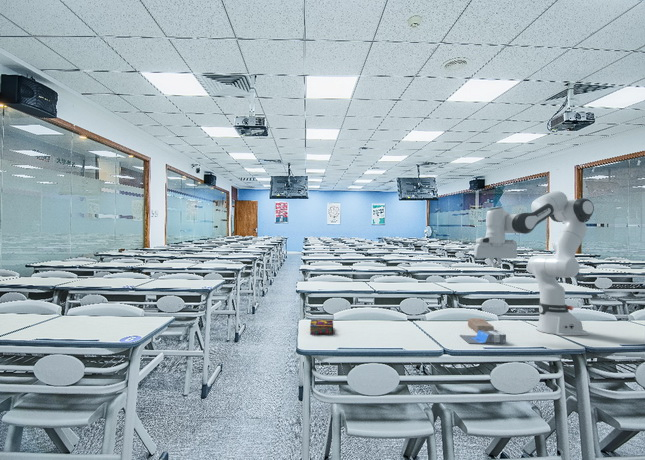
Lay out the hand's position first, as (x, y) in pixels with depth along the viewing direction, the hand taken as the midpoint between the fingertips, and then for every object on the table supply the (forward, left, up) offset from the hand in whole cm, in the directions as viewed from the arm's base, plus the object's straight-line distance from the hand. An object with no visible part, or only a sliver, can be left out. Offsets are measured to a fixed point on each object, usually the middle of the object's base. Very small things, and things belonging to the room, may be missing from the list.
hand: (495, 267), depth 185 cm
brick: (+4, -8, -34) cm, 35 cm away
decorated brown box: (+87, +2, -34) cm, 93 cm away
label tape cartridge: (+3, +13, -31) cm, 34 cm away
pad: (+12, +12, -33) cm, 37 cm away
